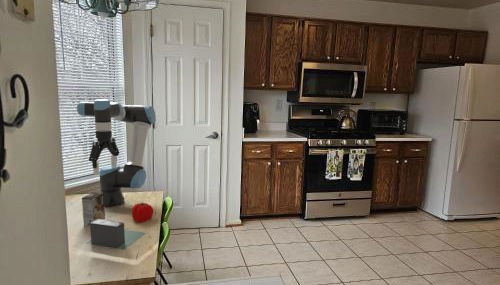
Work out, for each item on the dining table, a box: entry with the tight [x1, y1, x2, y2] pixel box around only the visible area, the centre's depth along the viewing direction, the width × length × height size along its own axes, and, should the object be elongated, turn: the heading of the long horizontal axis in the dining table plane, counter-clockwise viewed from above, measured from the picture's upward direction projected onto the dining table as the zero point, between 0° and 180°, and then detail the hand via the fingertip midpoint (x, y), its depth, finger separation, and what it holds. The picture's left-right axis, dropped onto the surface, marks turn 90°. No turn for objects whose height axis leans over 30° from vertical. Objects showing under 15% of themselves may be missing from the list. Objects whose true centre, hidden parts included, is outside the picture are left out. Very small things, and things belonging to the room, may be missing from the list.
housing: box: [89, 219, 125, 249], centre depth 149 cm, size 5×14×10 cm, turn 75°
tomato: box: [131, 201, 154, 223], centre depth 179 cm, size 11×13×10 cm
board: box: [86, 228, 147, 251], centre depth 156 cm, size 18×20×6 cm
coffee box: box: [81, 192, 106, 227], centre depth 172 cm, size 9×6×16 cm
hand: (105, 170), depth 171 cm, fingers open, 13 cm apart
